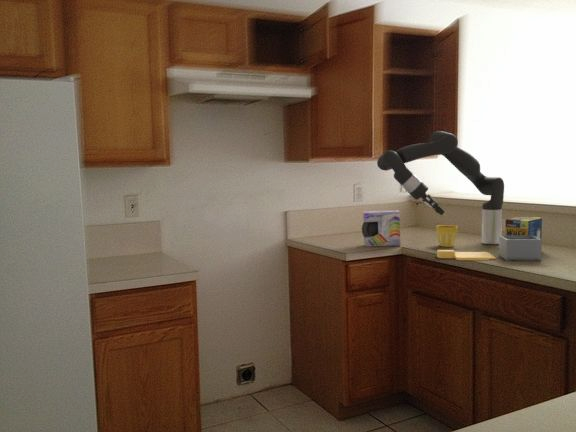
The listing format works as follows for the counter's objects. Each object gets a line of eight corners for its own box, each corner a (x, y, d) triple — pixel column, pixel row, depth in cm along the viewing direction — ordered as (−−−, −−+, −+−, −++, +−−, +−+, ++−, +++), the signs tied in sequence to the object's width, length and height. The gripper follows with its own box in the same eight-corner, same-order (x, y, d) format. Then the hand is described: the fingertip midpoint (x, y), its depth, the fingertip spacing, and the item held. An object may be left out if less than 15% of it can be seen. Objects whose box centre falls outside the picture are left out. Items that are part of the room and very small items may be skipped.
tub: (498, 255, 243) (499, 235, 242) (532, 255, 242) (532, 235, 241) (506, 261, 232) (506, 239, 231) (541, 260, 230) (541, 239, 229)
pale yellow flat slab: (435, 254, 251) (435, 247, 250) (487, 254, 248) (487, 247, 248) (440, 260, 237) (440, 253, 237) (495, 260, 234) (495, 253, 234)
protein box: (504, 253, 250) (505, 219, 248) (519, 248, 260) (519, 216, 259) (527, 255, 242) (528, 220, 241) (541, 250, 253) (542, 217, 251)
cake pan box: (362, 246, 278) (361, 211, 276) (362, 244, 283) (361, 210, 281) (400, 246, 275) (400, 211, 273) (400, 244, 280) (400, 210, 278)
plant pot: (457, 244, 277) (457, 225, 276) (458, 247, 267) (458, 227, 266) (436, 243, 280) (436, 224, 279) (435, 247, 270) (435, 227, 269)
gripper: (423, 181, 233) (450, 208, 233) (419, 180, 247) (445, 205, 247) (410, 194, 234) (437, 220, 234) (406, 191, 248) (432, 217, 248)
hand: (441, 212), depth 240 cm, fingers open, 8 cm apart
